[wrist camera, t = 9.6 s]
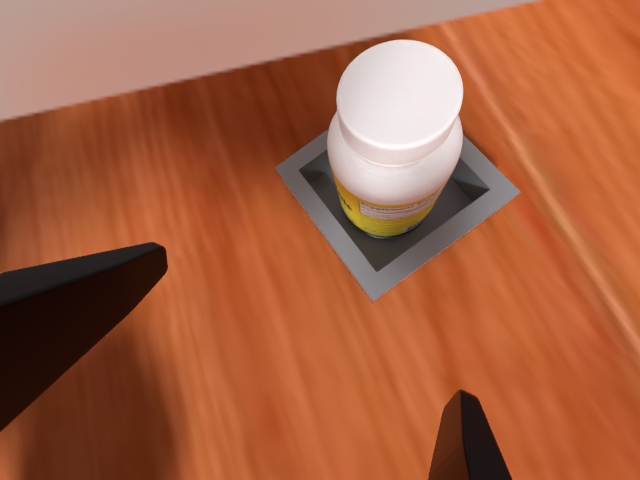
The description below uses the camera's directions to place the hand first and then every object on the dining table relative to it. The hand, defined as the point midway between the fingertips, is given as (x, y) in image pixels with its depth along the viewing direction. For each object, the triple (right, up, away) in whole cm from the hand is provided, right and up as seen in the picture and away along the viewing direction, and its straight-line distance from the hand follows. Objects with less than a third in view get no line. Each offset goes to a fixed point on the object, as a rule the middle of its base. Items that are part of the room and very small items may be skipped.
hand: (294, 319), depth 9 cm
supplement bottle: (+5, +5, +11) cm, 13 cm away
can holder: (+5, +5, +11) cm, 13 cm away
